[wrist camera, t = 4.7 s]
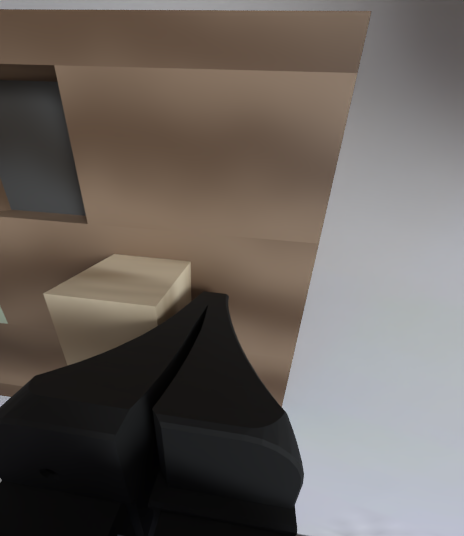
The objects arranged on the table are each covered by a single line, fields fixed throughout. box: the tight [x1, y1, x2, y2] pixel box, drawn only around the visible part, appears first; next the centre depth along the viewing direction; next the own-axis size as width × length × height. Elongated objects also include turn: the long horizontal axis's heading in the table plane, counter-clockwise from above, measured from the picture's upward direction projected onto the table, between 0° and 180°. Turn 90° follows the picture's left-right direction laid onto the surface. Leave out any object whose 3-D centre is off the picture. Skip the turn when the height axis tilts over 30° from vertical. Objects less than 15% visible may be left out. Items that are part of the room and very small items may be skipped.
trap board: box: [0, 9, 371, 407], centre depth 13 cm, size 22×22×2 cm
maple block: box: [43, 254, 191, 365], centre depth 10 cm, size 4×4×4 cm
